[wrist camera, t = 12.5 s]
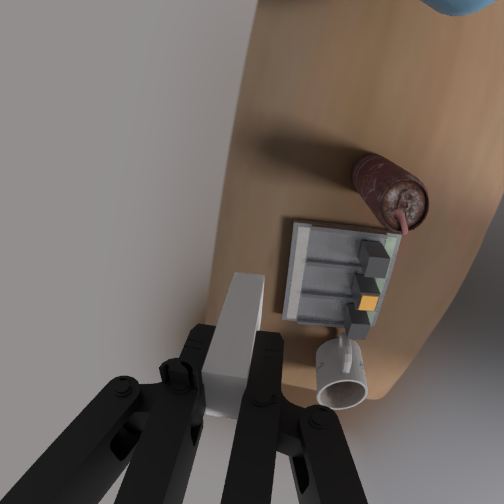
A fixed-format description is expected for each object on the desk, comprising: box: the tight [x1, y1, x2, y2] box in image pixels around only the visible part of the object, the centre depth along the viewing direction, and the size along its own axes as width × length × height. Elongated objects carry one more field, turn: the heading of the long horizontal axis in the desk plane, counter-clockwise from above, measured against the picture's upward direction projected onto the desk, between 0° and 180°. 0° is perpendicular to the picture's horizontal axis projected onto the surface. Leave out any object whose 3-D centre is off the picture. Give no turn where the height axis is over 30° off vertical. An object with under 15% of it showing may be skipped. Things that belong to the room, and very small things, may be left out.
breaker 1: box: [343, 304, 370, 340], centre depth 45 cm, size 3×3×5 cm
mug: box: [316, 333, 368, 410], centre depth 49 cm, size 12×9×10 cm
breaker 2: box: [358, 240, 391, 279], centre depth 40 cm, size 3×3×5 cm
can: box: [351, 154, 429, 235], centre depth 33 cm, size 6×6×14 cm
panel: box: [282, 219, 402, 328], centre depth 45 cm, size 17×16×2 cm
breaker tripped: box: [351, 274, 381, 311], centre depth 42 cm, size 3×3×5 cm
